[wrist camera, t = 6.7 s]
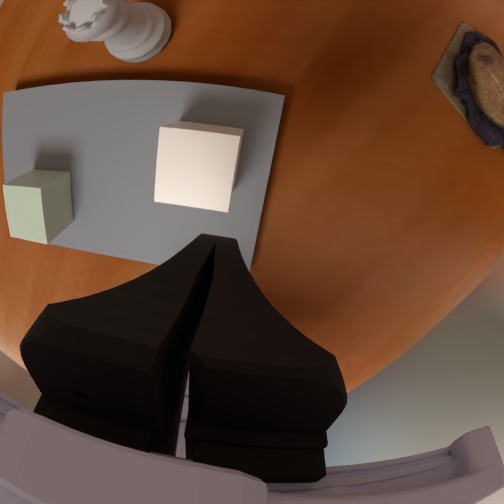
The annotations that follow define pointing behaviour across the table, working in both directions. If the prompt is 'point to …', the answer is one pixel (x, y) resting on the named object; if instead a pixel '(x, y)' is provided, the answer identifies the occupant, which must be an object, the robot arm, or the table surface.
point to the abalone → (474, 82)
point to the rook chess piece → (118, 26)
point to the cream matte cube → (197, 165)
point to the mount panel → (138, 159)
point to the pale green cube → (39, 205)
